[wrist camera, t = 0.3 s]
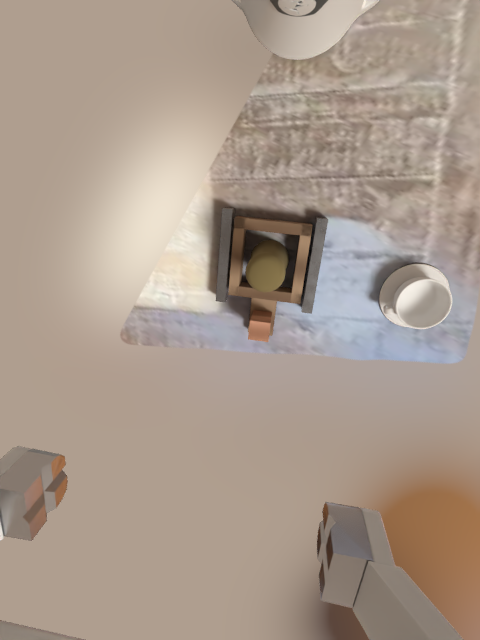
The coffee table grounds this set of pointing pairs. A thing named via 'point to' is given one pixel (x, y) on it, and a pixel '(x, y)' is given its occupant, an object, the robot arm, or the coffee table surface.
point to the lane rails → (226, 251)
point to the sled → (266, 301)
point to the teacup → (416, 296)
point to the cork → (267, 266)
